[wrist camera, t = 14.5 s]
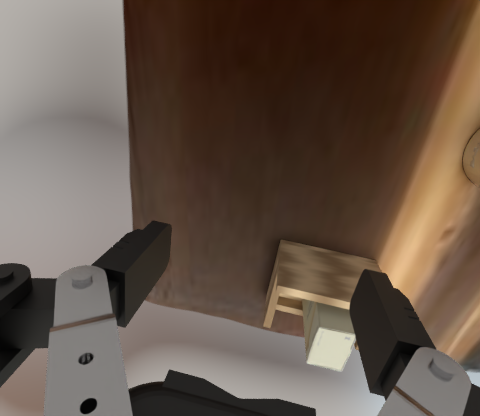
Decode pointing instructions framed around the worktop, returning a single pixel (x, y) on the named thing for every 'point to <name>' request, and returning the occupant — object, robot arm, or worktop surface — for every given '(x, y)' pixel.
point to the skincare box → (327, 335)
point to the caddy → (312, 278)
